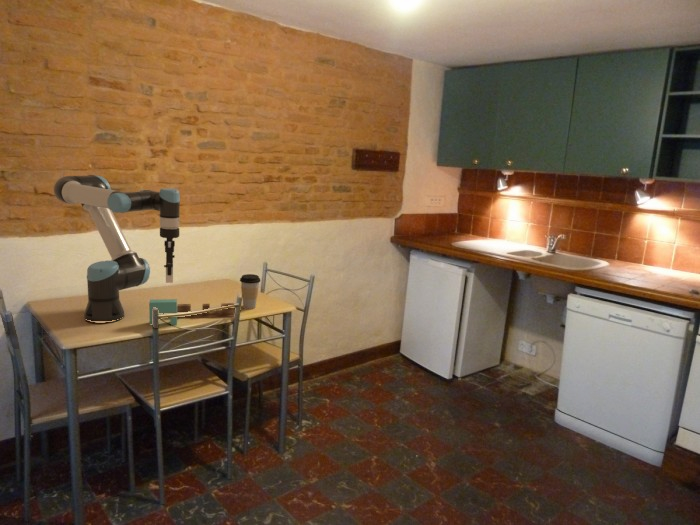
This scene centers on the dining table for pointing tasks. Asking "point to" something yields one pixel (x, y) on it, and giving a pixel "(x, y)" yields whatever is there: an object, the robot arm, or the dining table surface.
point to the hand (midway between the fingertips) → (169, 277)
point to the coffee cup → (249, 290)
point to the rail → (222, 313)
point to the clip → (164, 308)
